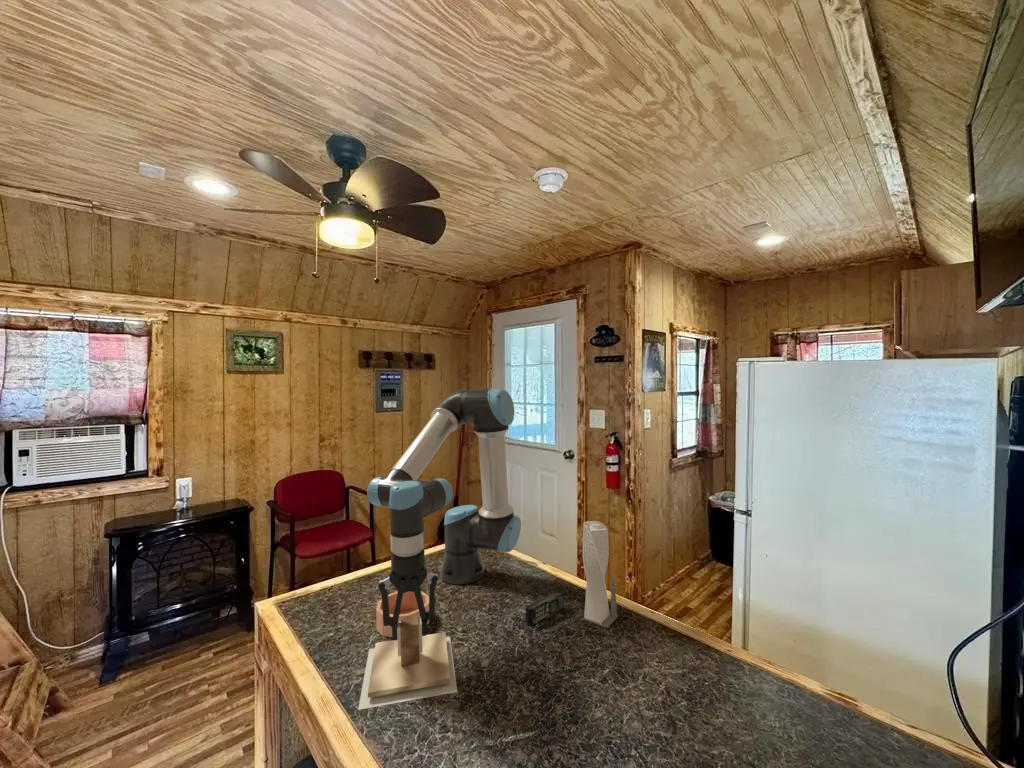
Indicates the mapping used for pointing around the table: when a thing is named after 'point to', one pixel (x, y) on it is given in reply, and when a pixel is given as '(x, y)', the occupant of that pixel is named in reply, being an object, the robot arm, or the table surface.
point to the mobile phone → (543, 608)
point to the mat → (409, 694)
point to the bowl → (407, 609)
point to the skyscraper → (597, 575)
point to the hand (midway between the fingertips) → (410, 650)
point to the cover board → (409, 674)
